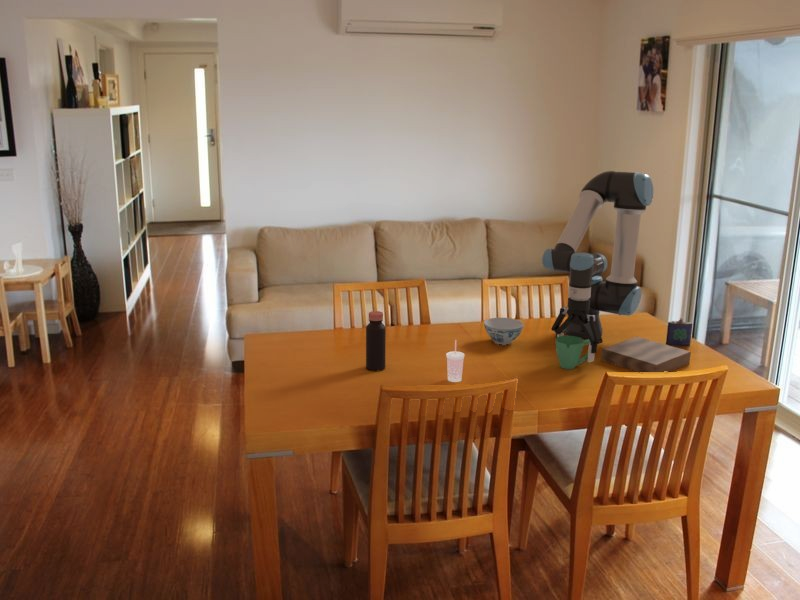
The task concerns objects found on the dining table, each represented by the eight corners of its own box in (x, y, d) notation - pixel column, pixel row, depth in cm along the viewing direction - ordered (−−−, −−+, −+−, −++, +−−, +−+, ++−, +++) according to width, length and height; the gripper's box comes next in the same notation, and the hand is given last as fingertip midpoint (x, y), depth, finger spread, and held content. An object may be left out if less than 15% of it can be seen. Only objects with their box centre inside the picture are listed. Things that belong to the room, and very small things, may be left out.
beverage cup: (462, 383, 252) (464, 343, 249) (444, 382, 254) (445, 342, 250) (464, 376, 258) (465, 337, 255) (446, 375, 259) (447, 336, 256)
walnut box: (600, 361, 276) (602, 348, 275) (635, 349, 290) (637, 336, 288) (654, 378, 260) (656, 364, 258) (689, 364, 273) (690, 351, 272)
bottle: (383, 364, 269) (384, 309, 264) (386, 371, 263) (387, 315, 258) (364, 365, 268) (364, 310, 263) (367, 372, 262) (367, 316, 257)
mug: (561, 372, 263) (563, 345, 260) (548, 363, 272) (550, 336, 269) (599, 369, 267) (602, 342, 264) (586, 360, 276) (588, 333, 273)
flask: (689, 343, 295) (692, 317, 292) (691, 346, 292) (694, 319, 289) (664, 343, 295) (667, 316, 292) (667, 345, 292) (669, 319, 289)
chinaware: (530, 344, 293) (531, 324, 291) (501, 351, 284) (502, 331, 282) (504, 333, 305) (505, 315, 302) (475, 340, 296) (476, 321, 294)
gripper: (543, 292, 270) (540, 349, 275) (602, 307, 251) (597, 368, 257) (557, 289, 274) (553, 345, 280) (616, 303, 256) (611, 363, 261)
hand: (574, 356), depth 268 cm, fingers open, 13 cm apart
